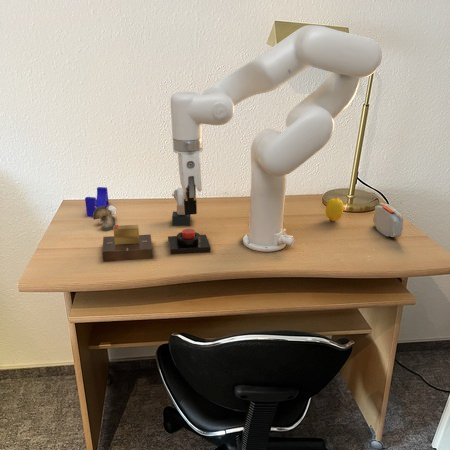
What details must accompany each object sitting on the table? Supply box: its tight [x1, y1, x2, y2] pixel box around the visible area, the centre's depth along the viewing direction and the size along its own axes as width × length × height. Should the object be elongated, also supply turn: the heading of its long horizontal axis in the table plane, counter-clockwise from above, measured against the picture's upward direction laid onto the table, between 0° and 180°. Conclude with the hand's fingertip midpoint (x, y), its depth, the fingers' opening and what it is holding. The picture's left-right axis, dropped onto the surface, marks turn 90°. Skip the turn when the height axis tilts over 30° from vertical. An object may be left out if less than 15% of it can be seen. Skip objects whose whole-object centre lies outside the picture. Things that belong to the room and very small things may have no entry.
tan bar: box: [113, 224, 140, 245], centre depth 132 cm, size 6×2×5 cm, turn 99°
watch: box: [171, 187, 192, 227], centre depth 152 cm, size 6×8×11 cm
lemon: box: [325, 196, 344, 222], centre depth 157 cm, size 6×6×8 cm
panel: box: [101, 233, 154, 263], centre depth 134 cm, size 13×11×3 cm
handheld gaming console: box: [372, 202, 404, 238], centre depth 149 cm, size 14×3×8 cm, turn 12°
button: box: [181, 228, 196, 239], centre depth 137 cm, size 4×4×2 cm
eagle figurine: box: [92, 204, 117, 232], centre depth 150 cm, size 8×7×9 cm
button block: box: [167, 231, 211, 256], centre depth 138 cm, size 11×9×4 cm
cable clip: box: [84, 186, 110, 218], centre depth 161 cm, size 12×4×6 cm, turn 172°
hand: (190, 213), depth 134 cm, fingers closed
